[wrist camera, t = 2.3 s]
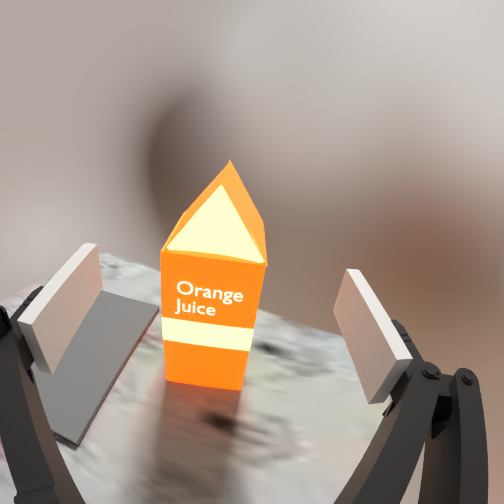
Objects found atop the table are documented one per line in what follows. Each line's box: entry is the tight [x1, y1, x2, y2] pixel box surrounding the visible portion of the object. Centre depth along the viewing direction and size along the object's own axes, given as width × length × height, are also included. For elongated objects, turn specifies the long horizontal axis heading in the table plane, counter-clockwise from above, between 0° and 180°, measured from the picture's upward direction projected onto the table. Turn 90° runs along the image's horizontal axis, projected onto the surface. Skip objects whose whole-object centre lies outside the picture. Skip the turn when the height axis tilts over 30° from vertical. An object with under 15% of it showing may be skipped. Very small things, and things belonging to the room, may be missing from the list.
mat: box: [31, 290, 159, 445], centre depth 27 cm, size 14×21×1 cm, turn 172°
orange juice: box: [161, 161, 267, 390], centre depth 27 cm, size 8×9×20 cm
